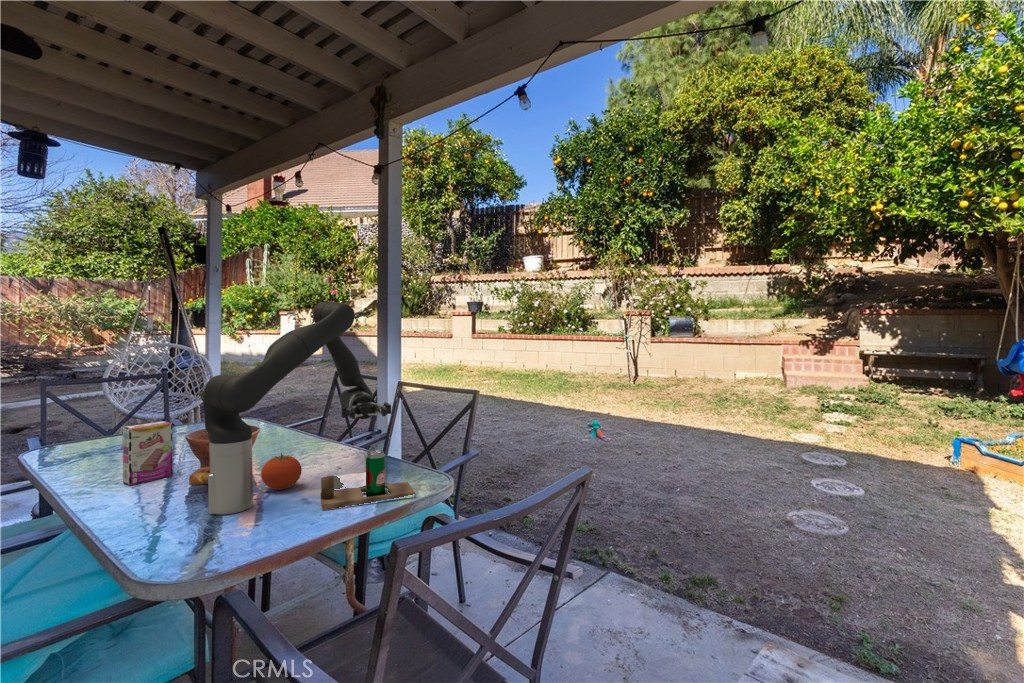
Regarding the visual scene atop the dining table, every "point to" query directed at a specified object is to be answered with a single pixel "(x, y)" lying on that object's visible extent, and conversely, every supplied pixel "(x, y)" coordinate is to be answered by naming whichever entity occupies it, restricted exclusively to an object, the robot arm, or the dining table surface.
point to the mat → (337, 482)
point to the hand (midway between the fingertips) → (369, 414)
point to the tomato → (281, 472)
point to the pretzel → (200, 476)
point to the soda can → (375, 473)
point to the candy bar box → (147, 452)
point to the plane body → (357, 494)
